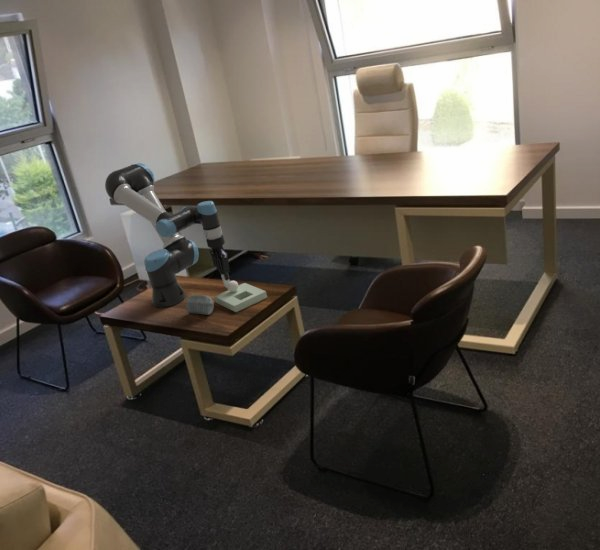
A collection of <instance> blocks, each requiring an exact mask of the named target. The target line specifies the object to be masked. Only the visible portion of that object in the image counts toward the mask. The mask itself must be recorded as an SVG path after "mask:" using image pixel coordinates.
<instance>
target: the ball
mask: <svg viewBox="0 0 600 550" xmlns="http://www.w3.org/2000/svg"><path fill="white" fill-rule="evenodd" d="M238 287H239V283H238V281H236V280H230V282H229V283H228V284H227V287H226V288H227V290H229V291H231V292H235V291H237V290H238Z"/></svg>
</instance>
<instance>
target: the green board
mask: <svg viewBox="0 0 600 550" xmlns="http://www.w3.org/2000/svg"><path fill="white" fill-rule="evenodd" d="M238 286H239V287H238V290H237V291H235V292H231V291H229V290H228V289H227V290H225V291H223V292H221V293H219V294H216V295H214V300H215V303H217V304H218V305H220V306H223V307H224V308H227V309H228V310H230V311H233V312H234V313H238V312H240V311H242V310H244V309H246V308H249V307H250V306H253V305H254V304H257V303H259V302H261V301H264V300H265V299H268V293H267V291H266V290H263V289H261V288H259V287H256V286H254V285H251V284H249V283H246V282H243V283H240V284H238Z"/></svg>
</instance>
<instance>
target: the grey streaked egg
mask: <svg viewBox="0 0 600 550" xmlns="http://www.w3.org/2000/svg"><path fill="white" fill-rule="evenodd" d="M214 308H215V302H214V300H213V298H212V297H210V296H209V295H203V294H191V295H188V296H187V298H186V300H185V310H186V311H187V312H188V313H189V314H199V315H203V316H204V315H205V316H206V315H207V316H210V315H211V314H212V313H213V311H214Z"/></svg>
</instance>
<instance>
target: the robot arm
mask: <svg viewBox="0 0 600 550" xmlns="http://www.w3.org/2000/svg"><path fill="white" fill-rule="evenodd" d="M154 184H155V175H154V173H153V171H152V169H151V168H150V167H149V166H148V165H146V164H145V163H141V162H138V163H134V164H130V165H129V166H126V167H123V168H120V169H117V170H113V171H112V172H110V174H108V175H107V177H106V179H105V184H104V185H105V186H104V187H105V191H106V193H107V195H108V197H109V198H110V199H111V200H112V201H113V202H115V203H117V204H122V205H124V206H125V207H127V208H128V209H130V210H131V211H133V212H135V213H136V214H138V215H139V216H141V217H142V218H144V219H146V220H147V221H148V222H149V223H151V225H152V226H153V228H154V230H155V232H156V234H157V235H158V237H159V238H160V240H161V242H162V243H163V246H162V248H161V249H157V250H155V251H152V252H150V253H149V254H147V256H145V258H144V259H143V260H144V261H143V262H144V267H145V269H144V270H145V271H146V273H147V277H148V279H149V282H150V286H151V289H152V290H151V291H152V293H151V302H152V304H153V307H154V308H160V309H161V308H162V309H163V308H168V307H172V306H175V305H177V304H179V303H181V302H182V301H184V300H185V298H186V294H185V293H186V292H185V291H184V289H183V287H182V286H181V285H180V284H179V282H178V280H177V277H176V274H179V273H181V272H182V271H184V270H186V269H188V268H191V267H192V266H193V265H195V264H197V262H198V260H199V257H200V255H199V249H198V246H197V245H196V243H195V242H194V241H192V240H191V239H187V238H186V237H185V236H184V235H181V234H180V233H179V232H180V231H183V230H186V229H187V228H190V227H191V226H193V225H201V226H202V229H203V235H204V236H205V238H206V244H207V247H208V248H209V249H210V250H209V254H210V255H211V257H212V260H213V262H214V265H215V268H216V270H217V271H218V272H219V273H220V275H221V280H222V283H223V287H224V288H227V284H228V283H229V282H230V281H231V280H230V276H229V275H230V274H229V273H230V271H231V269H230V264H229V263H230V262H229V254H228V253H229V252H226V251H225V249H224V247H223V245H225V242H226V241H225V237H224V235H223V230H222V226H221V223H220V219H219V215H218V210H217V207H216V206H215V202H214V201H213V200H207V201H202V202H200V203H197V205H196V206H192V205H188V206H184V207H182V208H180V211H178V212H175V213H173V214H171V213H170V212H168V211H166V209H165V207H164V206H163V204H162V202H161V201H160V199H159V197H158V196H157V194H156V193H155V191H154V190H155V185H154Z"/></svg>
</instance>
